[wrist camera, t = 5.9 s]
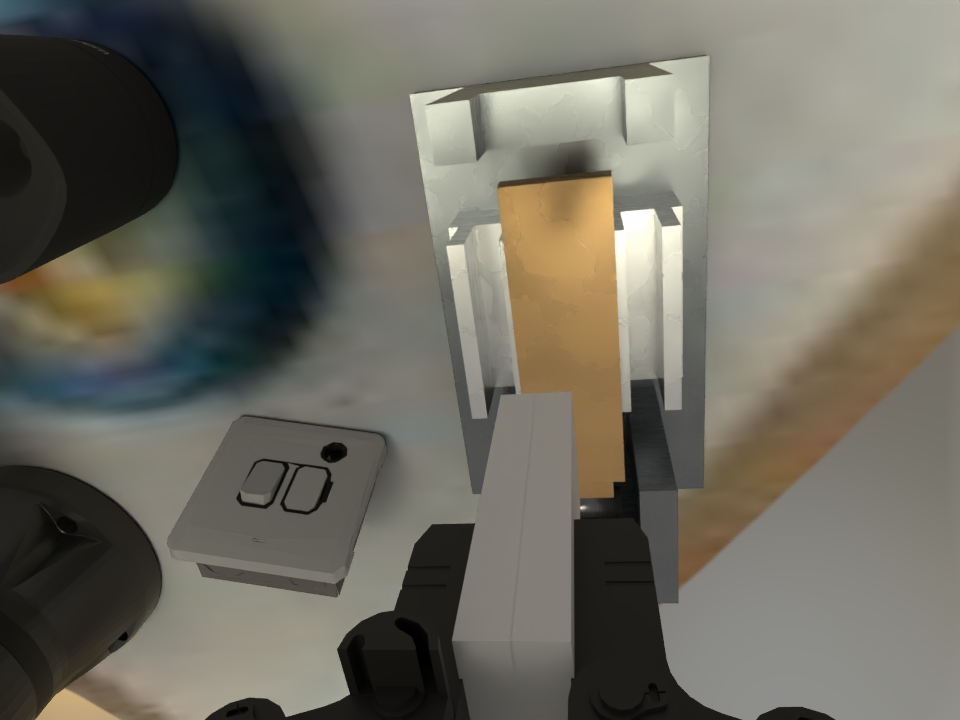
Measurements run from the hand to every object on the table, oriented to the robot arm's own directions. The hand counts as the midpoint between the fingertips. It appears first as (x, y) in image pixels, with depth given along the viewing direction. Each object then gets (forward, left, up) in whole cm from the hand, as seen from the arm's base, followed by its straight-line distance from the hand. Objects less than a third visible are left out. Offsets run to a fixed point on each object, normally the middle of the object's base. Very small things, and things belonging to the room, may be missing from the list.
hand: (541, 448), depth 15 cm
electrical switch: (-16, -13, -21) cm, 29 cm away
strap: (0, -4, -13) cm, 14 cm away
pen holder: (-23, +7, -21) cm, 32 cm away
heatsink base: (0, -5, -21) cm, 21 cm away
